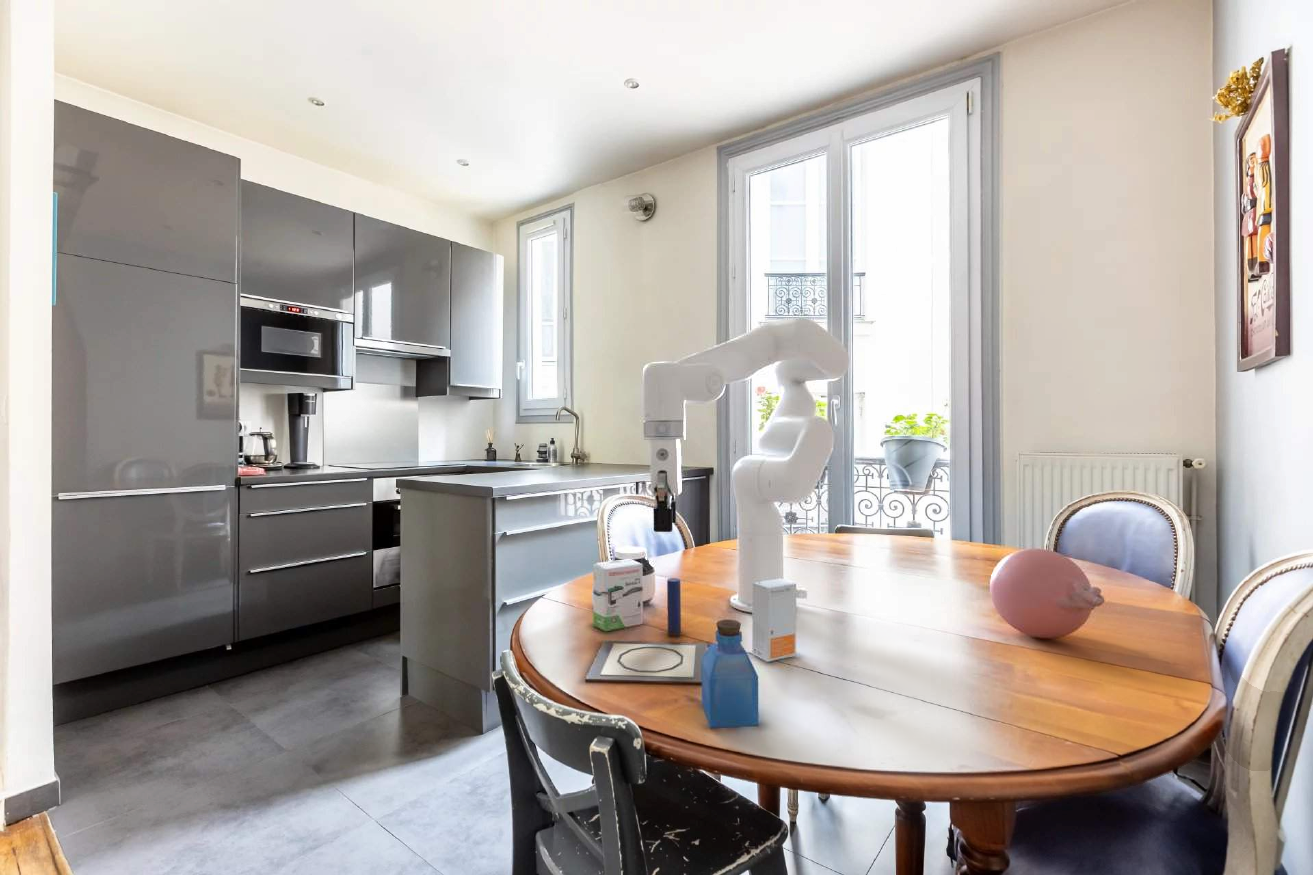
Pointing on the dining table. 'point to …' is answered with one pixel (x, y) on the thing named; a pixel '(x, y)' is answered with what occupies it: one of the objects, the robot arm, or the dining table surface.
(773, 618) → the cosmetic box
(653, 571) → the spread jar
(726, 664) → the perfume bottle
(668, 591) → the marker
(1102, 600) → the balloon
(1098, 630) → the dining table surface
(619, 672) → the drawing board
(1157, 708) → the dining table surface
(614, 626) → the ink box
